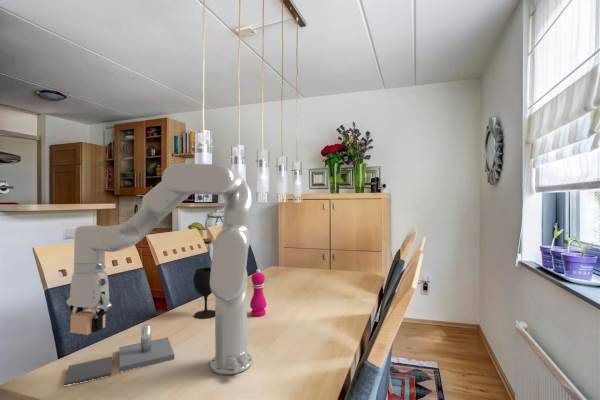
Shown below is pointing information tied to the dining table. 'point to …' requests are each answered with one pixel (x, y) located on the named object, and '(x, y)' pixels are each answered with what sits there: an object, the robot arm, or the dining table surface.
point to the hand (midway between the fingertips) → (87, 328)
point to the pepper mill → (258, 295)
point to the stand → (145, 354)
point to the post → (145, 338)
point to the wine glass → (203, 291)
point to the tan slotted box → (83, 322)
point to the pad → (89, 370)
